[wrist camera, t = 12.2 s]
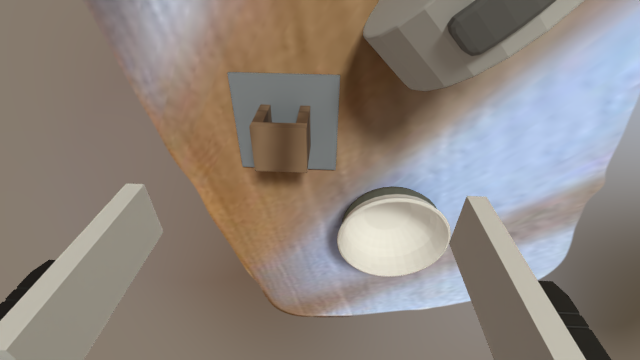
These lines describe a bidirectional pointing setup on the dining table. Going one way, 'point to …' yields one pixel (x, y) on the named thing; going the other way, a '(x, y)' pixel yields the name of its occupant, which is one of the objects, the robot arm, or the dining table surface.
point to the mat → (289, 109)
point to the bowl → (393, 232)
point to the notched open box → (280, 141)
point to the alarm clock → (456, 35)
